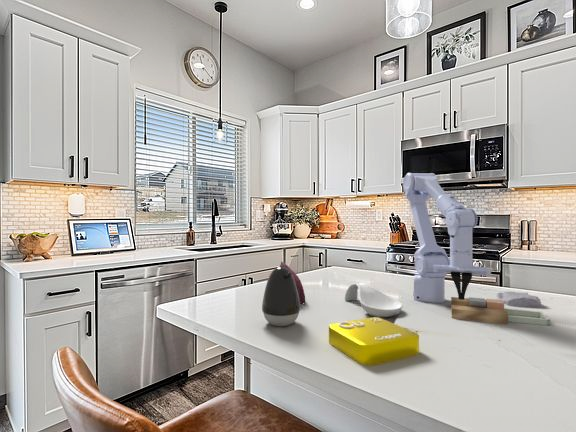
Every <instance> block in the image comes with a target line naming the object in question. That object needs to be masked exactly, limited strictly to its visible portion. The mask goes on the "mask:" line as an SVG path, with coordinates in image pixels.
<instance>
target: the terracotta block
mask: <svg viewBox="0 0 576 432" xmlns="http://www.w3.org/2000/svg"><path fill="white" fill-rule="evenodd" d="M485 300H486V308H488V309H498V310H504V308H505V304H504V302H503V301H502V300H499V299H493V298H485Z"/></svg>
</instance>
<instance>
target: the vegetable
mask: <svg viewBox="0 0 576 432" xmlns="http://www.w3.org/2000/svg"><path fill="white" fill-rule="evenodd" d="M279 267H285V268H287V269H288V270H289V271H290V272H291V274H292V276H293V278H294V281H295V284H296V287H297V291H298V295H299V301H300V304H303V303H305V304H306V294H305V291H304V287H303V283H302V281H301V279H300V278H299V276H298V275H297V274H296V272H295V271H294V270H293V269H292V268H291V267H289V266H288V264H286V263H285V262H283V261H281V262H280V264H279ZM303 305H304V304H303Z"/></svg>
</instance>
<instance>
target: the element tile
mask: <svg viewBox="0 0 576 432" xmlns="http://www.w3.org/2000/svg"><path fill="white" fill-rule="evenodd" d="M328 344H330V345H331V346H332V347H333V348H335V349H337V350H339V351H340V352H342V353H343V354H344V355H346V356H348V357H349V358H351V359H352V360H354V361H355V362H357V363H358V364H360V365H363V366H376V365H380V364H384V363H389V362H393V361H398V360H402V359H406V358H410V357H415V356H418V355H419V354H420V335H419V334H418V333H416V332H415V331H412V330H409V329H407V328H405V327H403V326H400V325H398V324H395V323H393V322H390V321H388V320H386V319H385V318H383V317H375V316H372V317H366V318H359V319H354V320H348V321H347V320H346V321H340V322H334V323H330V324H329V326H328Z"/></svg>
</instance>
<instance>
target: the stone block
mask: <svg viewBox="0 0 576 432" xmlns="http://www.w3.org/2000/svg"><path fill="white" fill-rule="evenodd" d="M496 297H497V298H498V300H502V301H503V302H504V305H506V306H509V307H517V308H518V307H519V308H523V307H524V308H537V309H538V308H541V307H542V301H541V299H540V298H539V296H537V295H531V294H529V293H528V292H519V291H502V292H498V293H497V294H496Z"/></svg>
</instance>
